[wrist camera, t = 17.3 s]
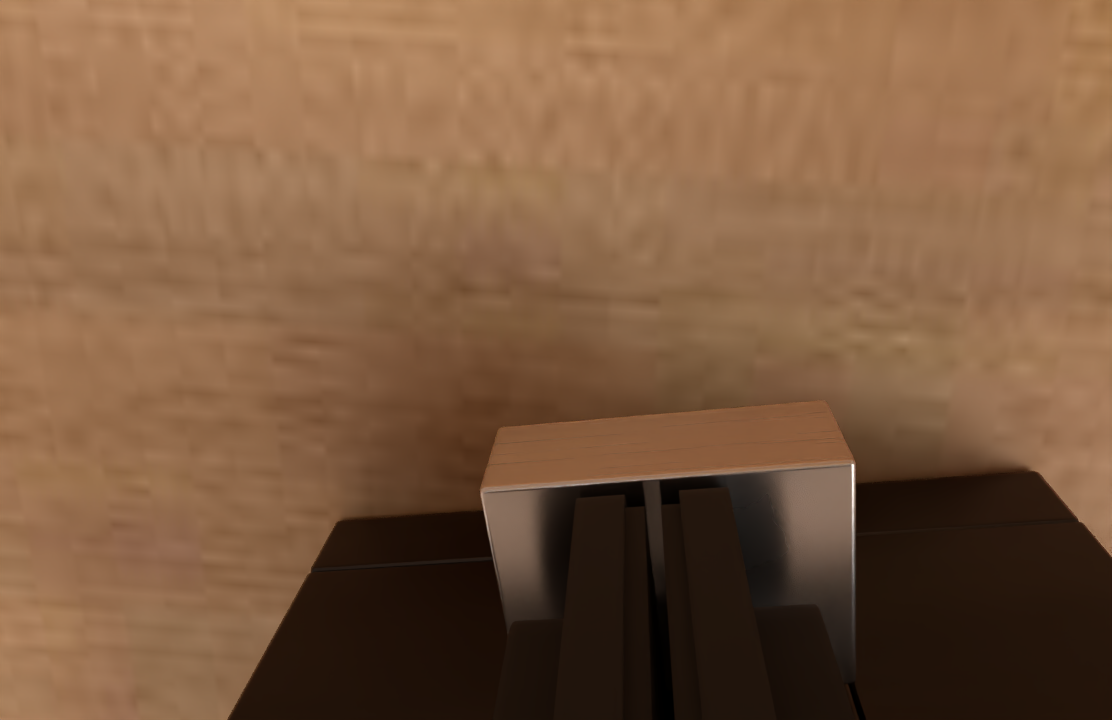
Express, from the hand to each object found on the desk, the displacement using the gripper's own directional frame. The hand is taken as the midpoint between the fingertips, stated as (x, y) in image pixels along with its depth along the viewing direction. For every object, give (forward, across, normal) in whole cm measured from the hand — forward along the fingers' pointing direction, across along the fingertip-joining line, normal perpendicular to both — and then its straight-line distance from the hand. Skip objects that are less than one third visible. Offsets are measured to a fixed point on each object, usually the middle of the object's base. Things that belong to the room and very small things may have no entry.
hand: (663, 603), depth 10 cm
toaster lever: (+2, 0, 0) cm, 2 cm away
